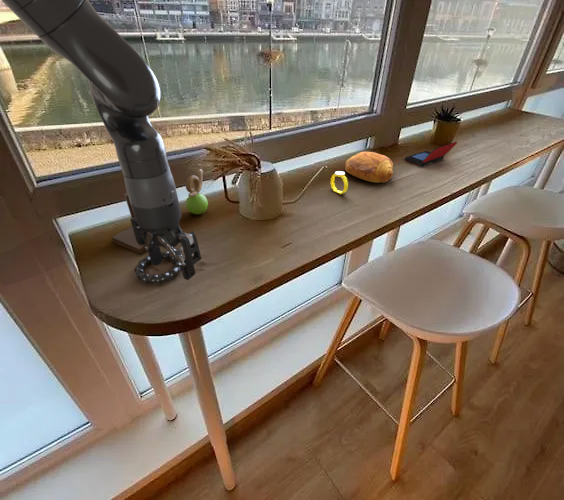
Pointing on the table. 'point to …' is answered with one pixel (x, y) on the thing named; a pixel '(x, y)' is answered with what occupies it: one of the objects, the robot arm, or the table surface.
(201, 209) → the snail figurine
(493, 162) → the table surface
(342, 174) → the gold gemstone ring
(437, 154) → the handheld console
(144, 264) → the hang ring
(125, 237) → the stand
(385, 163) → the bread loaf
